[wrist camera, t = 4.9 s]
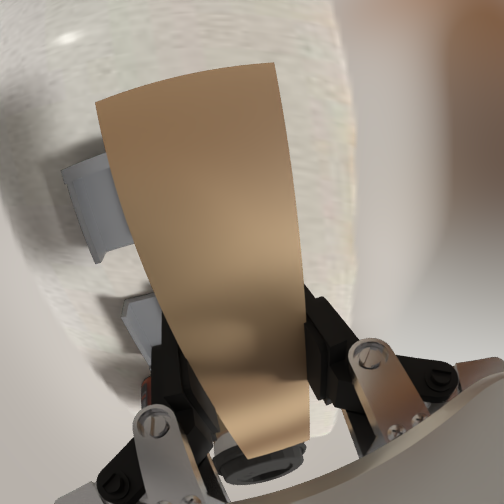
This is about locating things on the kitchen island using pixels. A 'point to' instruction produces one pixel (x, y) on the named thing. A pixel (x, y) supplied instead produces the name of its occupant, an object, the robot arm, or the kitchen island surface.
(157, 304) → the cap
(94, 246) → the cap
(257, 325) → the light wood rectangular block
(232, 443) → the coffee cup
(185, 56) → the kitchen island surface
